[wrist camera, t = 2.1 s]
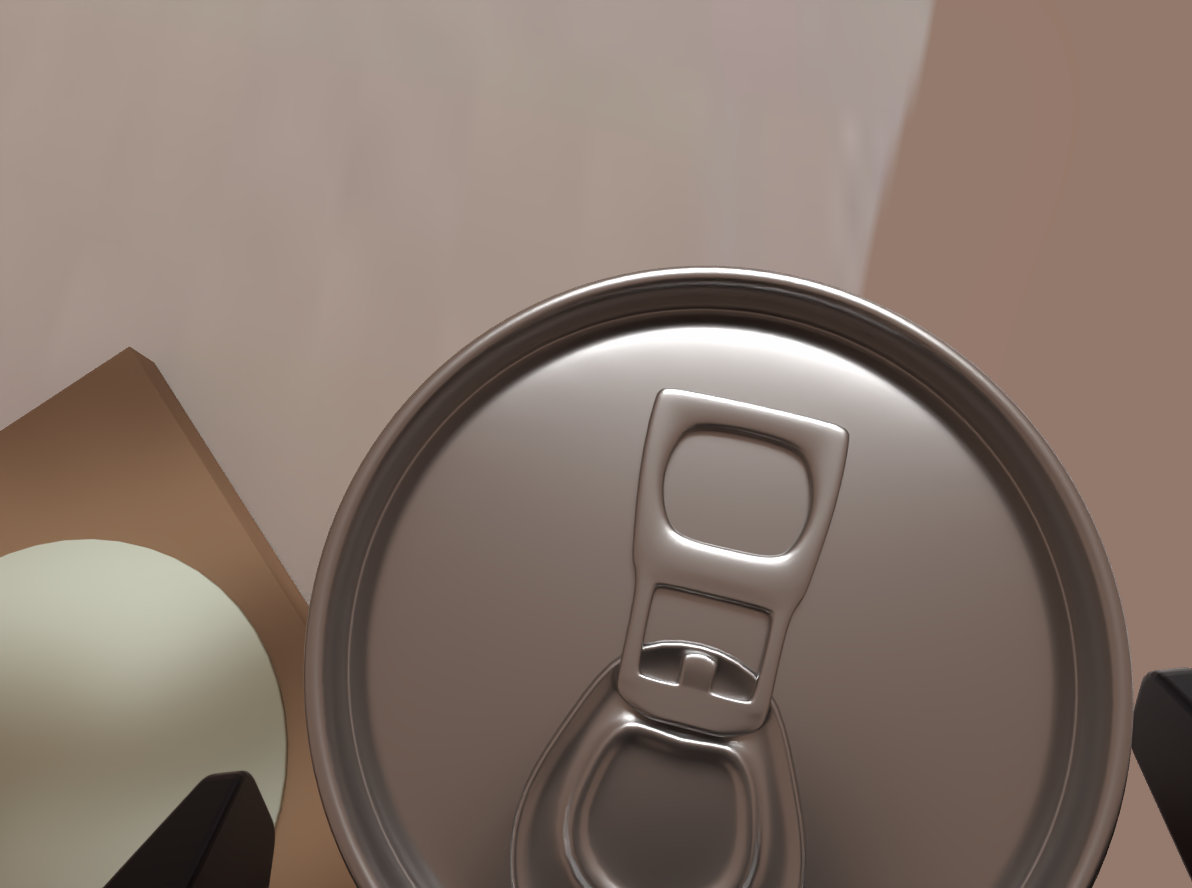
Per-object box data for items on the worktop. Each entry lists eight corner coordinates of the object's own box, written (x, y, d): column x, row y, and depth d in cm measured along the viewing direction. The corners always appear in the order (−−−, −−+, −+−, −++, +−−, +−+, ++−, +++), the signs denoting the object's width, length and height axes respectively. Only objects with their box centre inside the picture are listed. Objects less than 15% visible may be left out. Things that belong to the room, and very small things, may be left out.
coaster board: (493, 897, 17) (482, 913, 16) (16, 1266, 16) (-33, 1312, 15) (154, 362, 20) (124, 343, 19) (-270, 642, 19) (-330, 639, 18)
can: (456, 794, 17) (98, 1028, 6) (542, 469, 19) (394, 138, 7) (795, 886, 17) (1156, 1357, 5) (856, 543, 18) (1242, 308, 7)
